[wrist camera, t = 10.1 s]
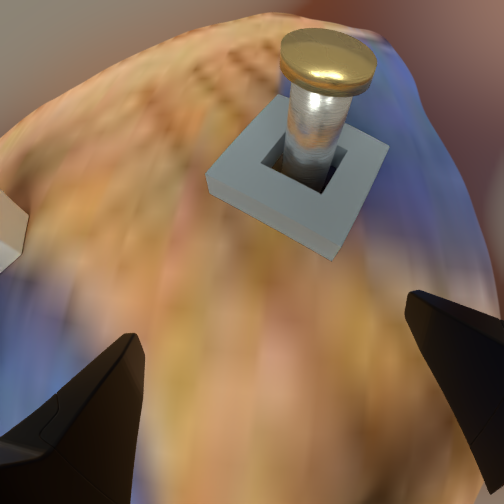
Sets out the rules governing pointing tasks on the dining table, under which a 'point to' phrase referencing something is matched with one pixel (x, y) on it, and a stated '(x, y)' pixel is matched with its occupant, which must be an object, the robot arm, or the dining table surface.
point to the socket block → (290, 191)
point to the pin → (320, 97)
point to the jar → (11, 230)
